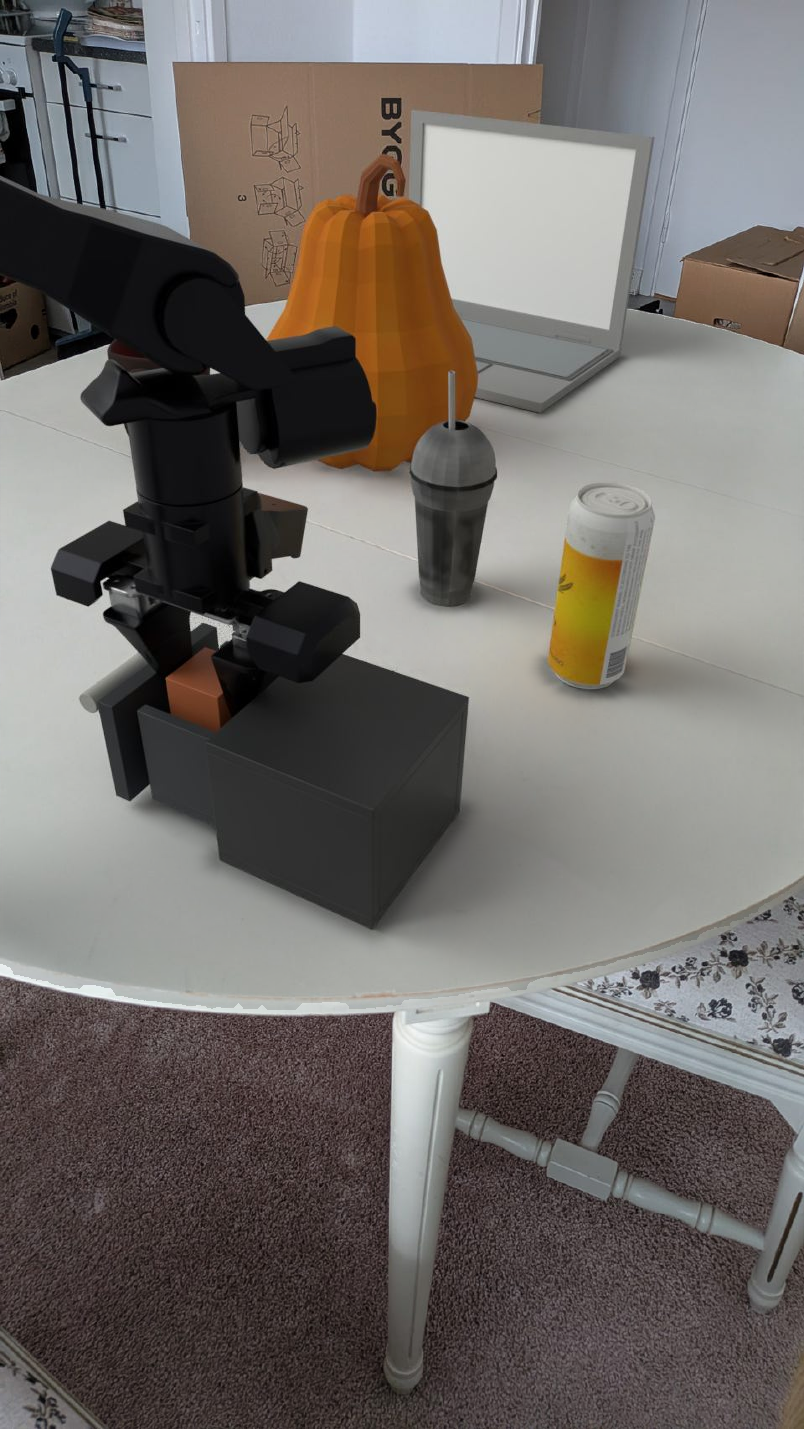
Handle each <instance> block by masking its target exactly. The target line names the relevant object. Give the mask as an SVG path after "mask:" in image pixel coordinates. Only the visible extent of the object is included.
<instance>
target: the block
mask: <svg viewBox="0 0 804 1429" xmlns="http://www.w3.org/2000/svg"><path fill="white" fill-rule="evenodd" d="M215 652H216V651H215V650H212V649H209V648H206V647H205V648H204V649H202V650H201V651H200V652H199V653H197V654H196V655H195V656H193V657H192V658H191V659H189V660H188V661H187V662H186V663H184V664H183V665H182V666H180V667H179V668H178V669H177V670H175V671H174V672H173V673H171V674H170V675H169V676H168V677H166V685H167V691H168V698H169V705H170V712H171V715H174V716H176V717H179V718H181V719H184V720H186V721H189V722H191V723H194V724H196V725H199V726H201V727H204V728H206V729H209V730H211V731H214V732H217V731H218V730H219V729H221V728H222V727H223V726H224V725H225V724H226V723H227V722H228V721H230V720H231V719H232V716H231V714H230V712H229V710H228V707H227V704H226V701H225V698H224V695H223V692H222V689H221V686H220V683H219V680H218V677H217V674H216V671H215V668H214V665H213V663H212V660H211V655H212V654H213V653H215ZM257 696H258V695H257Z"/></svg>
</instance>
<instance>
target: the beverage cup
mask: <svg viewBox="0 0 804 1429" xmlns="http://www.w3.org/2000/svg"><path fill="white" fill-rule="evenodd" d="M448 387H449V420H448V421H444V422H441V423H439V424H436V425H434V426H433V427H431V428H430V429H429V430H428V431H427V432H426V433H425V434H424V435H423V436H422V437H421V438H420V440H419V441H418V443H417V445H416V447H415V450H414V453H413V458H412V462H410V466H409V470H408V473H409V475H410V483H411V484H410V485H411V489H412V491H411V492H412V495H413V498H414V509H415V510H414V512H415V529H416V549H417V550H416V551H417V565H418V566H417V567H418V579H419V583H420V584H419V586H420V595H421V597H422V598H423V599H424V600H425V601H426V602H428V603H430V604H431V605H432V604H433V605H437V606H441V607H454V606H458V605H462V604H464V603H466V602H468V601H469V600H470V598H471V596H472V590H473V586H474V582H475V579H476V574H477V568H478V563H479V556H480V550H481V544H482V541H483V540H482V539H483V534H484V528H485V522H486V518H487V517H486V516H487V512H488V511H487V510H488V505H489V501H490V500H491V498H492V495H493V491H494V489H495V488H494V487H495V482H496V480H497V479H498V469H497V460H496V453H495V451H494V450H495V449H494V447H493V445H492V443H491V441H490V439H489V438H488V436H487V435H486V434H485V432H484V431H482V430H481V429H480V428H479V427H477V426H476V425H474V424H473V423H470V422H469V421H461V420H455V372H454V371H449V372H448Z"/></svg>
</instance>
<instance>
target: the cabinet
mask: <svg viewBox="0 0 804 1429" xmlns="http://www.w3.org/2000/svg"><path fill="white" fill-rule="evenodd" d="M469 703H470V697H469V696H468V695H464V694H462V693H459V692H456V691H452V690H450V689H447V688H444V687H441V686H438V685H435V684H432V683H429V682H427V681H424V680H420V679H417V678H414V677H411V676H409V675H406V674H403V673H400V672H397V671H394V670H391V669H389V668H386V667H382V666H380V665H377V664H374V663H372V662H368V661H366V660H362V659H359V658H357V657H353V656H350V655H348V654H345V653H343V654H342V655H341V656H339V657H338V658H337V659H336V660H335V661H334V662H333V663H332V664H331V665H330V666H329V667H328V668H326V669H325V670H324V671H323V672H322V673H321V674H320V675H319V676H318V677H317V678H316V679H315V680H313V681H311V682H304V683H296V682H294V681H291V680H288V679H285V678H283V677H280V676H279V677H278V678H277V679H276V680H275V681H274V682H273V683H271V684H270V685H269V686H268V687H267V688H266V689H265V690H264V691H262V692H261V693H260V694H259V695H258V696H257V697H256V698H254V699H253V700H252V701H251V702H250V703H249V704H248V705H247V706H245V707H244V708H243V709H242V710H241V711H240V712H239V713H238V714H236V715H235V716H234V717H233V718H232V719H231V720H230V721H228V722H227V723H226V724H225V725H224V726H223V727H222V728H221V729H219V730H218V731H217V732H216V733H215V734H214V735H213V736H211V737H210V738H209V739H208V740H207V741H206V742H205V746H206V752H207V762H208V770H209V778H210V786H211V794H212V802H213V810H214V818H215V826H216V827H215V826H214V827H215V833H216V834H215V835H216V841H217V850H218V858H219V860H220V861H221V862H224V863H225V864H227V865H229V866H232V867H234V868H237V869H239V870H241V871H243V872H246V873H248V874H249V875H252V876H254V877H257V878H259V879H261V880H263V881H265V882H268V883H270V884H272V885H274V886H276V887H279V888H280V889H283V890H285V891H287V892H288V893H289V892H290V893H292V894H294V895H296V896H298V897H300V898H303V899H305V900H306V901H309V902H311V903H314V904H316V905H318V906H320V907H322V908H324V909H327V910H329V911H331V912H333V913H336V914H338V915H340V916H342V917H345V918H346V919H348V920H351V921H353V922H355V923H356V924H357V923H358V924H360V925H361V926H364V927H366V928H368V929H370V930H373V929H374V927H375V926H376V925H377V924H378V922H379V921H380V920H381V918H382V917H383V916H384V915H385V913H386V911H387V910H388V909H389V908H390V906H391V905H392V904H393V902H394V901H395V900H396V898H397V896H398V895H399V894H400V892H401V891H402V890H403V889H404V887H405V886H406V884H407V883H408V882H409V880H410V879H411V878H412V877H413V875H414V874H415V872H416V871H417V869H418V868H419V867H420V865H421V864H422V863H423V862H424V860H425V859H426V858H427V856H428V855H429V853H430V852H431V851H432V849H433V848H434V847H435V845H436V844H437V843H438V841H439V840H440V839H441V837H442V836H443V835H444V833H445V832H446V831H447V829H448V828H449V826H450V825H451V824H452V822H453V821H454V820H455V819H456V817H457V816H458V814H459V813H460V811H461V809H460V808H461V801H462V800H461V798H462V787H463V775H464V765H465V764H464V763H465V752H466V751H465V750H466V739H467V729H468V727H467V726H468V717H469V716H468V715H469Z"/></svg>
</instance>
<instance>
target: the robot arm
mask: <svg viewBox="0 0 804 1429" xmlns="http://www.w3.org/2000/svg"><path fill="white" fill-rule="evenodd" d="M0 276H2V277H4V278H7V279H9V280H12V281H14V282H16V283H19V284H21V285H24V286H27V287H29V288H31V289H34V290H36V291H38V292H41V293H42V294H43V295H45V296H47V297H49V299H51V300H54V301H55V302H57V303H58V304H60V305H62V306H63V307H65V308H66V309H68V310H69V311H71V312H73V313H74V314H75V315H77V316H79V317H80V318H82V319H83V320H85V321H86V322H88V323H90V324H91V325H93V326H94V327H96V328H97V329H99V330H100V331H101V332H103V333H105V334H106V335H108V336H109V337H111V338H112V339H113V340H115V339H116V340H118V341H119V342H121V343H122V344H124V345H126V346H127V347H129V348H131V349H132V350H134V351H136V352H137V353H139V354H141V355H142V356H144V357H145V358H147V359H149V360H150V361H152V362H154V363H155V364H157V365H159V366H160V367H162V368H160V369H154V370H148V371H142V372H136V373H130V372H127V371H126V370H125V369H124V368H123V367H122V366H120V365H119V364H118V363H117V362H116V361H115V360H112V359H109V360H108V359H107V360H106V361H105V363H104V365H103V369H102V370H101V371H100V373H99V375H97V376H96V378H94V379H93V380H92V381H91V382H90V383H89V384H88V385H87V386H86V388H85V389H83V391H82V392H81V393H80V397H79V398H80V402H81V404H83V405H84V406H85V407H86V408H87V409H88V410H89V411H90V412H91V413H92V414H93V415H94V416H95V417H96V418H97V419H98V420H99V421H100V422H101V423H102V424H103V425H104V426H106V427H115V426H120V425H124V424H125V423H127V427H128V434H129V436H128V439H129V440H128V441H129V446H130V455H131V460H132V467H133V473H134V481H135V489H136V496H137V497H136V498H137V501H136V502H134V503H132V504H130V505H128V506H127V507H125V508H123V509H122V513H123V519H124V524H122V523H118V522H115V521H112V520H107V521H106V522H104V523H102V524H100V525H99V526H97V527H95V528H94V529H91V530H90V531H88V532H86V533H84V534H83V535H80V536H79V537H77V538H76V539H74V540H72V541H70V542H69V543H67V544H65V545H64V546H61V547H60V548H59V549H57V552H56V554H55V556H54V558H53V561H52V563H51V566H50V571H51V572H50V573H51V577H52V581H53V586H54V589H55V595H56V596H58V597H60V598H63V599H66V600H69V601H71V602H74V603H77V604H80V605H82V606H85V607H88V608H89V607H90V606H92V605H94V604H95V603H97V601H99V599H100V598H102V596H103V595H104V593H103V589H104V590H105V591H107V592H108V598H109V602H110V606H109V607H107V608H106V609H105V610H103V612H102V617H103V620H104V622H105V623H107V624H110V625H111V626H113V627H114V628H116V630H117V631H118V633H120V634H121V635H122V636H123V637H124V638H125V640H126V641H127V642H128V643H129V644H130V645H131V646H132V647H133V648H134V649H135V651H137V653H138V652H139V653H140V654H141V656H142V657H143V658H144V659H145V660H146V661H147V662H148V664H149V665H150V666H151V667H152V668H153V670H154V671H155V672H156V673H157V674H158V676H159V677H160V678H161V679H162V680H163V682H164V683H165V684H166V677H168V676H169V675H170V674H171V673H173V672H174V671H175V670H177V669H178V668H179V667H180V666H182V665H183V664H184V663H186V662H187V661H188V660H189V659H191V658H192V657H193V649H192V639H191V631H192V630H191V613H193V614H196V615H199V616H202V617H203V618H204V617H205V618H207V619H210V620H213V621H216V622H219V623H222V624H225V625H227V626H232V631H233V632H232V633H231V639H230V640H228V641H229V642H227V643H226V644H225V645H224V646H222V647H221V648H220V647H219V649H218V650H217V651H216V652H215V653H213V654H212V655H211V660H212V663H213V665H214V668H215V671H216V674H217V677H218V680H219V683H220V686H221V689H222V692H223V695H224V698H225V701H226V704H227V707H228V710H229V712H230V714H231V716H232V718H233V717H234V716H235V715H236V714H238V713H239V712H240V711H241V710H242V709H243V708H244V707H245V706H247V705H248V704H249V703H250V702H251V701H252V700H253V699H254V698H256V697H257V695H258V692H259V689H260V687H261V684H262V681H263V678H264V675H265V673H266V672H269V673H272V674H274V675H277V676H280V677H283V678H285V679H288V680H291V681H294V682H296V683H304V682H311V681H313V680H315V679H316V678H317V677H318V676H319V675H320V674H321V673H322V672H323V671H324V670H325V669H326V668H328V667H329V666H330V665H331V664H332V663H333V662H334V661H335V660H336V659H337V658H338V657H339V656H341V655H342V654H345V652H346V651H347V650H349V648H351V646H353V645H354V644H355V643H356V642H357V641H358V640H359V639H360V638H361V611H360V608H359V605H358V603H357V602H356V601H354V599H352V598H351V597H349V596H347V595H344V594H341V593H338V592H335V591H332V590H330V589H325V588H323V587H320V586H316V585H313V584H310V583H307V582H304V581H300V580H298V581H297V582H296V583H295V584H293V585H292V586H291V587H289V588H288V589H287V590H286V591H281V590H279V589H274V588H269V589H263V590H256V589H253V588H251V582H250V581H252V580H253V579H254V578H256V579H259V580H262V579H264V578H265V577H266V576H267V575H269V574H270V573H271V572H273V560H275V559H281V558H287V557H290V558H291V559H298V558H301V556H302V549H303V544H304V543H303V542H304V535H305V530H306V525H307V518H308V512H309V511H308V510H309V508H308V507H307V506H306V505H303V504H299V503H296V502H292V501H289V500H286V499H282V498H280V497H279V498H278V497H275V496H272V495H269V494H268V495H267V494H264V493H261V492H258V491H257V490H254V489H251V488H247V487H244V484H243V471H242V470H243V469H242V457H241V446H242V448H243V449H244V451H246V452H247V453H248V454H250V455H257V456H258V457H259V459H260V460H261V462H262V463H263V464H264V465H265V466H266V467H268V468H270V469H273V470H277V469H279V468H280V469H282V468H285V467H290V466H294V465H299V464H302V463H307V462H312V461H316V460H317V459H321V458H326V457H330V456H334V455H339V454H343V453H348V452H352V451H357V450H361V449H365V448H366V447H367V446H368V445H369V444H370V443H371V441H372V439H373V436H374V433H375V429H376V419H377V409H376V404H375V402H374V401H372V395H371V390H370V387H369V383H368V380H367V377H366V375H365V372H364V370H363V368H362V366H361V364H360V362H359V361H358V359H357V358H356V338H355V337H354V336H353V335H351V334H349V333H347V332H346V331H344V330H342V329H340V328H339V327H337V326H333V327H327V328H321V329H317V330H315V331H313V332H311V333H308V334H305V335H301V336H295V337H288V338H282V339H276V340H270V341H266V339H267V338H265V337H264V336H263V334H262V333H261V332H260V331H259V329H258V328H257V327H256V326H255V324H254V323H253V322H252V321H251V319H250V318H249V317H248V316H247V315H246V302H245V300H246V298H245V293H244V291H243V288H242V284H241V282H240V276H239V273H238V272H237V271H236V270H235V268H234V267H233V266H232V264H231V263H229V261H226V259H224V258H223V257H221V256H220V255H218V254H217V253H216V252H214V251H213V250H210V249H208V248H207V247H205V246H203V245H201V244H199V243H197V242H196V241H194V240H192V239H190V238H188V237H187V236H185V235H183V234H181V233H179V232H178V231H176V230H174V229H172V228H170V227H168V226H166V225H163V224H161V223H158V222H154V221H151V220H148V219H143V218H139V217H136V216H131V215H128V214H125V213H121V212H118V211H115V210H114V211H113V210H110V209H106V208H102V207H98V206H93V205H88V204H83V203H79V202H73V201H68V200H64V199H60V198H56V197H53V196H50V195H49V196H48V195H44V194H41V193H39V192H36V191H34V190H32V189H29V188H28V187H25V186H23V185H21V184H19V183H17V182H15V181H13V180H10V179H8V178H7V177H4V176H2V175H0ZM208 368H210V369H211V370H214V371H215V372H217V373H210V375H200V376H194V375H199V374H202V373H203V372H204V371H205V370H206V369H208ZM128 434H127V435H128ZM317 461H318V460H317ZM106 578H107V579H106ZM105 579H106V580H105ZM102 581H103V582H102ZM101 582H102V583H101Z"/></svg>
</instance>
